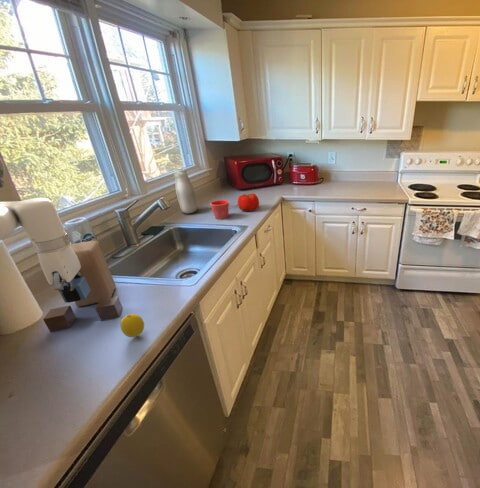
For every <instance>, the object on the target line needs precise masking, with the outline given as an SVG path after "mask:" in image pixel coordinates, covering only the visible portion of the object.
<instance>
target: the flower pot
mask: <svg viewBox="0 0 480 488" xmlns="http://www.w3.org/2000/svg"><path fill="white" fill-rule="evenodd" d="M209 206H210V208H211V209H212V213H213V216H214V218H215V219H216V220H225V219H227V218H229V214H230V213H229V211H230V210H229V209H230V202H229V201H228V200H226V199H218V200H213V201H211V202H210V205H209Z"/></svg>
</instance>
